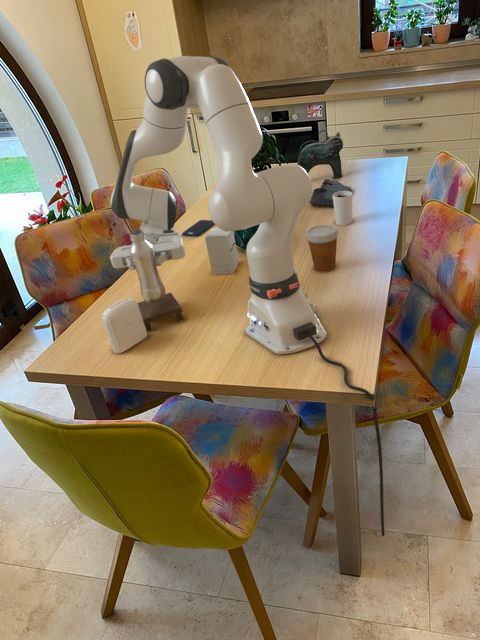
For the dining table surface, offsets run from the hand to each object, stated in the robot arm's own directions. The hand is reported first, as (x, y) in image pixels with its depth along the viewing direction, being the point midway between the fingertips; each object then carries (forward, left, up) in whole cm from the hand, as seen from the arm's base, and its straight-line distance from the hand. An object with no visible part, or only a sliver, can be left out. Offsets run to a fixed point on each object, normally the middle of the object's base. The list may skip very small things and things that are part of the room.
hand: (145, 265), depth 149 cm
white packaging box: (+19, -27, -17) cm, 37 cm away
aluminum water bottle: (+1, 0, -11) cm, 11 cm away
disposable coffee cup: (-1, -52, -17) cm, 54 cm away
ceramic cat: (+76, -93, -17) cm, 121 cm away
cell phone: (+59, -31, -17) cm, 69 cm away
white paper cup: (+27, -75, -17) cm, 81 cm away
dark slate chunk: (+52, -83, -17) cm, 99 cm away
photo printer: (-8, +10, -17) cm, 21 cm away
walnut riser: (+1, 0, -17) cm, 17 cm away
